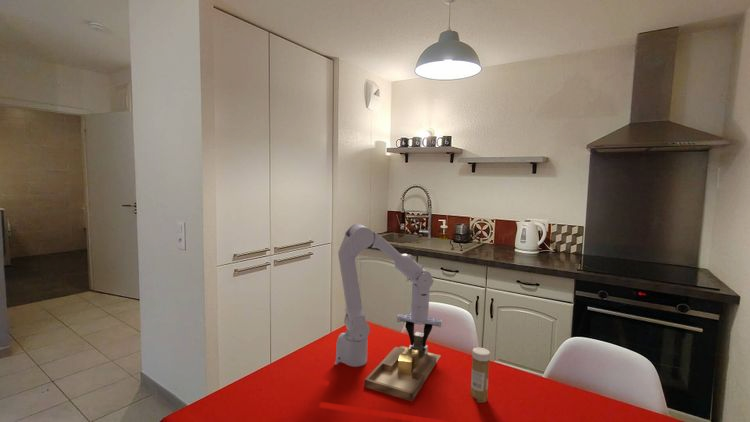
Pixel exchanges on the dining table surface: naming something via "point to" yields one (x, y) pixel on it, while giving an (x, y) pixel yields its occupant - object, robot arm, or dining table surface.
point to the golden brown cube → (405, 364)
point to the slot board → (400, 375)
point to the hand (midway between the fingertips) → (418, 344)
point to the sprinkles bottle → (480, 374)
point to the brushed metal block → (419, 344)
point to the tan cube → (412, 353)
